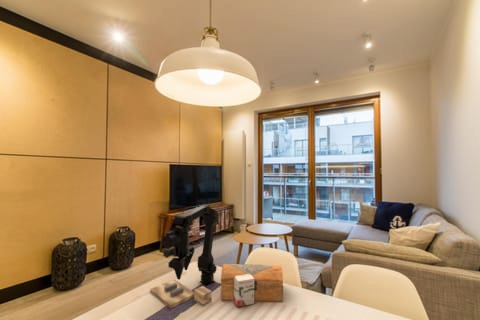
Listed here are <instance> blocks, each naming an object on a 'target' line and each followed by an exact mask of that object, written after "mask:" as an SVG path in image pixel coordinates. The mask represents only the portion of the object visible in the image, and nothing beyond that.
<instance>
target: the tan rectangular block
mask: <svg viewBox="0 0 480 320" xmlns="http://www.w3.org/2000/svg"><path fill="white" fill-rule="evenodd" d="M193 292H194V297H193V301H195V302H197V303H198V304H199V305H201V306H202V307H204V306H206V305H208V304H210V303H212V301H213V299H212V297H213V296H212V295H213V294H212V290H211V289H208V288H207V287H205V285H202V286H199V287H198V288H194V290H193Z"/></svg>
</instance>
